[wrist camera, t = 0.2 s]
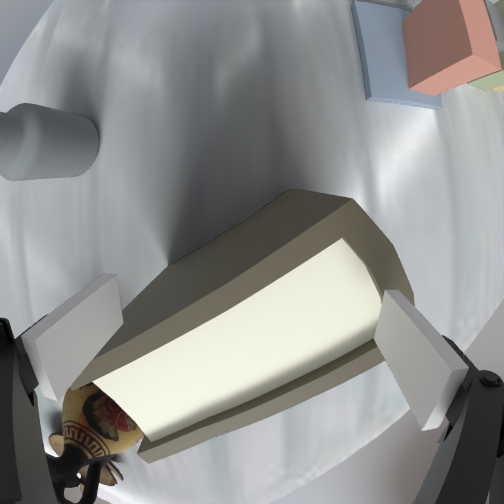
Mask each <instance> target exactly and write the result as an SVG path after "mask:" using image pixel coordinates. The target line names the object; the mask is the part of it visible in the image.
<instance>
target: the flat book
mask: <svg viewBox="0 0 504 504" xmlns="http://www.w3.org/2000/svg"><path fill="white" fill-rule="evenodd" d="M351 10H352V14H353V19H354V23H355V28H356V33H357V39H358V44H359V50H360V56H361V62H362V69H363V76H364V83H365V91H366V100H368V101H379V102H388V103H396V104H404V105H411V106H417V107H424V108H429V109H438V108H441V107H442V101H441V94H438V95H435V96H433V95H429V94H426V93H422V92H418V91H415V90H411V89H409V84H408V72H407V62H406V53H405V45H404V38H403V31H402V25H401V22H402V21H403V20H404V19H405V18H406V17H407V16H408V15H409V14H410V13H411V11H407V10H403V9H399V8H394V7H390V6H385V5H380V4H375V3H369V2H363V1H356V0H354V2H353V4H352V6H351Z"/></svg>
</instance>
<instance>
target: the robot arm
mask: <svg viewBox="0 0 504 504" xmlns="http://www.w3.org/2000/svg"><path fill="white" fill-rule="evenodd" d="M122 324H123V316H122V310H121V303H120V295H119V287H118V279H117V275H115V274H103V275H102V276H100V277H99V278H97V279H96V280H95V281H93V282H92V283H90V284H89V285H88V286H86V287H85V288H83V289H82V290H81V291H79V292H78V293H76V294H75V295H74V296H72V297H71V298H70V299H68V300H67V301H66V302H64V303H63V304H62V305H60V306H59V307H58V308H56V309H55V310H54V311H52V312H51V313H50V314H47V315H45V316H44V317H42V318H41V319H40V320H38V322H36V323H35V324H33V325H32V327H29V328H28V329H27V330H26V331H24V332H23V333H22V334H21V335H19V336H18V337H17V338H16V339H14V336H13V333H12V330H11V326H10V323H9V320H7V319H6V318H0V504H58V502H57V499H56V495H55V492H54V488H53V485H52V481H51V477H50V473H49V469H48V464H47V460H46V455H45V450H44V444H43V439H42V433H41V426H40V419H39V411H38V401H37V395H36V393H35V390H34V389H35V388H36V387H37V386H38V385H39V386H40V389H41V391H42V393H43V395H44V396H45V397H47V398H50V399H52V400H55V401H59V400H60V398H61V397H62V396H63V395H64V393H65V392H66V391H67V390H68V388H69V387H70V386H71V385H72V383H73V382H74V381H75V380H76V379H77V377H78V376H79V375H80V374H81V372H82V371H83V370H84V369H85V368H86V366H87V365H88V364H89V363H90V362H91V360H92V359H93V358H94V357H95V356H96V355H97V353H98V352H99V351H100V350H101V349H102V347H103V346H104V345H105V344H106V343H107V342H108V341H109V339H110V338H111V337H112V336H113V335H114V334H115V332H116V331H117V330H118V329H119V328H120V327H121V326H122ZM374 340H375V342H376V344H377V346H378V347H379V349H380V351H381V353H382V355H383V356H384V358H385V360H386V362H387V364H388V366H389V368H390V369H391V371H392V373H393V375H394V377H395V379H396V381H397V383H398V385H399V387H400V388H401V390H402V392H403V394H404V396H405V398H406V400H407V402H408V404H409V406H410V408H411V410H412V412H413V414H414V416H415V418H416V420H417V422H418V424H419V426H420V428H421V431H424V430H429V429H434V428H438V427H439V426H440V424H441V422H442V421H443V419H444V417H445V416H446V417H447V419H448V421H449V424H448V425H447V427H446V429H445V430H444V432H443V434H442V435H441V437H440V438H439V440H438V442H437V443H440V445H439V447H438V450H437V452H436V455H435V458H434V460H433V462H432V465H431V467H430V469H429V472H428V473H427V476H426V478H425V480H424V482H423V484H422V486H421V488H420V490H419V492H418V494H417V496H416V498H415V500H414V502H413V504H485V503H486V499H487V496H488V492H489V489H490V499H489V504H504V383H503V381H502V379H501V378H500V377H499V376H498V375H497V374H495V373H493V372H491V371H486V370H481V371H479V370H478V369H477V368H476V367H475V366H474V365H473V363H472V362H471V361H470V360H469V359H468V358H467V357H466V355H463V352H462V351H461V350H460V349H459V348H458V346H457V345H456V344H455V343H454V342H453V341H452V340H450V339H449V338H447V337H445V336H444V335H440V334H439V333H438V331H437V330H436V329H435V328H434V327H433V326H432V325H431V324H430V323H429V322H428V321H427V319H426V318H425V317H424V316H423V315H422V314H421V313H420V312H419V311H418V310H417V309H416V308H415V307H414V306H413V305H412V304H411V303H410V301H409V300H408V299H407V298H406V297H405V296H404V295H403V294H402V293H401V292H400V291H399V290H385V291H384V296H383V301H382V306H381V310H380V315H379V319H378V324H377V328H376V332H375V336H374Z"/></svg>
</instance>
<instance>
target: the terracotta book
mask: <svg viewBox="0 0 504 504" xmlns="http://www.w3.org/2000/svg"><path fill="white" fill-rule="evenodd" d="M401 25H402V31H403V38H404V45H405V53H406V62H407V72H408V84H409V89H411V90H415V91H418V92H422V93H426V94H429V95H433V96H435V95H438V94H440V93H442V92H445V91H447V90H450V89H452V88H454V87H457V86H459V85H462V84H464V83H467V82H469V81H472V80H474V79H477V78H480V77H482V76H485V75H488V74H490V73H493V72H496V71H498V70H501V69H502V68H501V63H500V59H499V54H498V50H497V45H496V41H495V37H494V34H493V30H492V27H491V23H490V20H489V17H488V13H487V10H486V7H485V5H484V2H483V0H423V1H422V2H421V3H420V4H419V5H418V6H417V7H416V8H415V9H414V10H413V11H412V12H411V13H410V14H409V15H408V16H407V17H406V18H405V19H404V20H403V21H402V22H401Z"/></svg>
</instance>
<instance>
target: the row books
mask: <svg viewBox="0 0 504 504" xmlns="http://www.w3.org/2000/svg"><path fill="white" fill-rule="evenodd" d="M494 5H496V6H497V7H498V8H499V11H500V13H501V16H502V19H503V23H504V0H499V1H498V2H496V3H495V4H494ZM499 59H500V63H501V68H502V69H501V70H498V71H496V72H493V73H490V74H488V75H485V76H482V77H480V78H477V79H474V80H472V81H469V82H467V83H468V84H470V85H472V86H475V87H477V88H479V89H482V90H484V91H487V90H490V89H492V90H494V91H496V92H498V91H502V90H504V52H501V53H499Z"/></svg>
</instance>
